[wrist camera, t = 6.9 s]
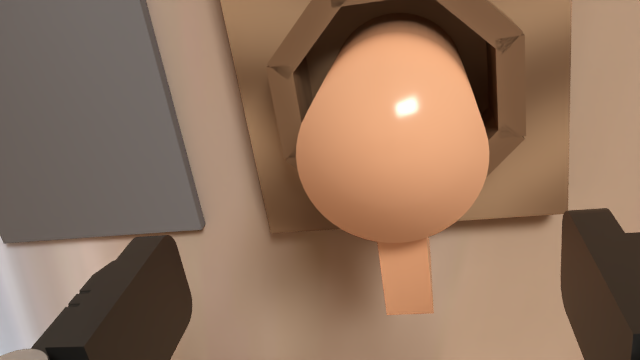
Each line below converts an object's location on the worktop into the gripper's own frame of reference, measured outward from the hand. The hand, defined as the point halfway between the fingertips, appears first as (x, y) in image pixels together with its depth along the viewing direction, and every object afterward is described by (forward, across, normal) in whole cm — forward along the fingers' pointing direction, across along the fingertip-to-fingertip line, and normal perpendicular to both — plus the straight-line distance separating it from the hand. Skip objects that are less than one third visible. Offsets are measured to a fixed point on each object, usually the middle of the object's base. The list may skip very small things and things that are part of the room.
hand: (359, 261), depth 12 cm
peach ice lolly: (+14, -1, +2) cm, 14 cm away
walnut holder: (+16, -1, 0) cm, 16 cm away
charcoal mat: (+16, +16, 0) cm, 23 cm away
